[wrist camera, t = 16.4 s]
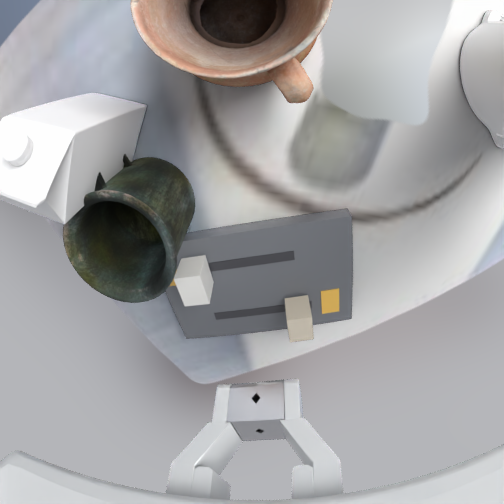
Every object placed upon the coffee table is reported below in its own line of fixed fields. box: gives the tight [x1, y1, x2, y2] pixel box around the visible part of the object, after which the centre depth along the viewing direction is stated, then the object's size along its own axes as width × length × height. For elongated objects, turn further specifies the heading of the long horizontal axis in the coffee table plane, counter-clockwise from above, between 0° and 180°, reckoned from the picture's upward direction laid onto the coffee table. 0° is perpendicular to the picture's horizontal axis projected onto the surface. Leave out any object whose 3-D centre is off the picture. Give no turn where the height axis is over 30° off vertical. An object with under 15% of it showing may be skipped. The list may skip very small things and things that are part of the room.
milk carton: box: [0, 93, 147, 224], centre depth 22 cm, size 7×7×19 cm
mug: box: [63, 154, 195, 303], centre depth 29 cm, size 11×15×12 cm
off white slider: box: [174, 255, 214, 306], centre depth 36 cm, size 3×4×4 cm
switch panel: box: [165, 209, 353, 339], centre depth 40 cm, size 24×16×2 cm, turn 100°
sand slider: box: [285, 295, 314, 342], centre depth 38 cm, size 3×4×4 cm
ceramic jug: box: [131, 0, 333, 103], centre depth 19 cm, size 18×14×14 cm
